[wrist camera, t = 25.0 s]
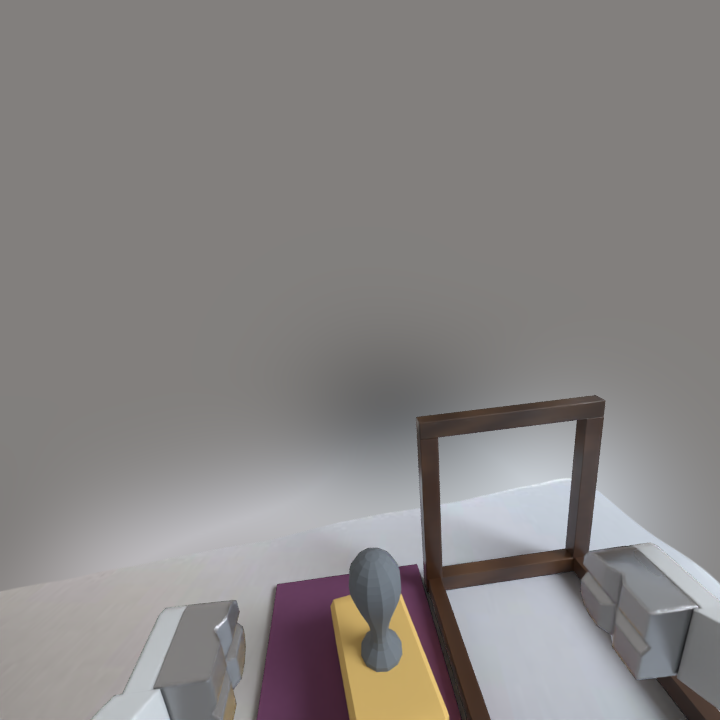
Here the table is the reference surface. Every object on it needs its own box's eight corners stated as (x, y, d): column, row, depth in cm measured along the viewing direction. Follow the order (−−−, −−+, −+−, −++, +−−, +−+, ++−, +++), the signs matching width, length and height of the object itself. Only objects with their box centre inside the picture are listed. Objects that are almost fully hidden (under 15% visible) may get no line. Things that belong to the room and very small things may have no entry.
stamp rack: (494, 819, 20) (500, 574, 15) (424, 582, 35) (415, 416, 30) (752, 771, 21) (839, 523, 16) (578, 559, 36) (595, 394, 31)
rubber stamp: (452, 757, 23) (449, 612, 19) (362, 794, 22) (341, 646, 18) (399, 612, 32) (390, 496, 29) (334, 632, 31) (316, 514, 27)
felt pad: (221, 965, 17) (219, 961, 17) (277, 587, 36) (277, 584, 36) (514, 906, 18) (514, 902, 18) (417, 567, 37) (417, 563, 37)
